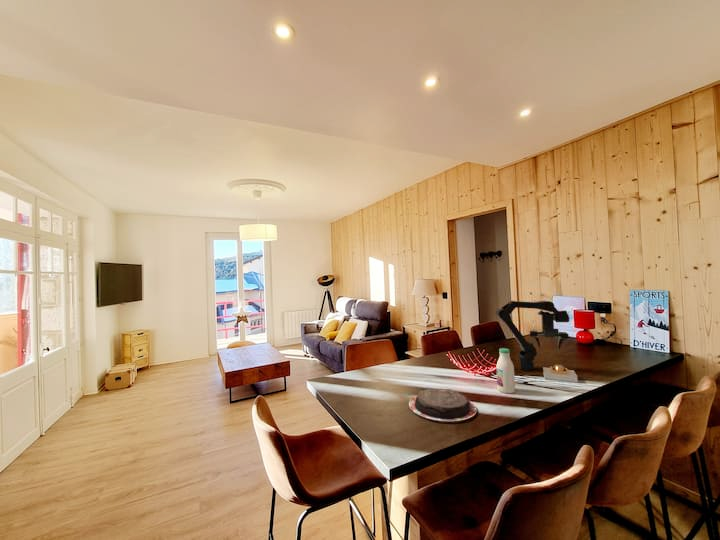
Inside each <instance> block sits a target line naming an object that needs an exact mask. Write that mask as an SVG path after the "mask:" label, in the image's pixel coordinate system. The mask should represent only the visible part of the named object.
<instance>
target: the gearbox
mask: <svg viewBox="0 0 720 540" xmlns="http://www.w3.org/2000/svg"><path fill="white" fill-rule="evenodd" d="M563 368H564V371H557V370H555V368H554V366H549V367H544V366H543V367H542V373H543V377H544V380H547V381H556V382H564V383H565V382H566V383H574V384H578V383H579V382H578V375H577V374H576V371H575V370H572V369H568V368H567V367H563Z"/></svg>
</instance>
